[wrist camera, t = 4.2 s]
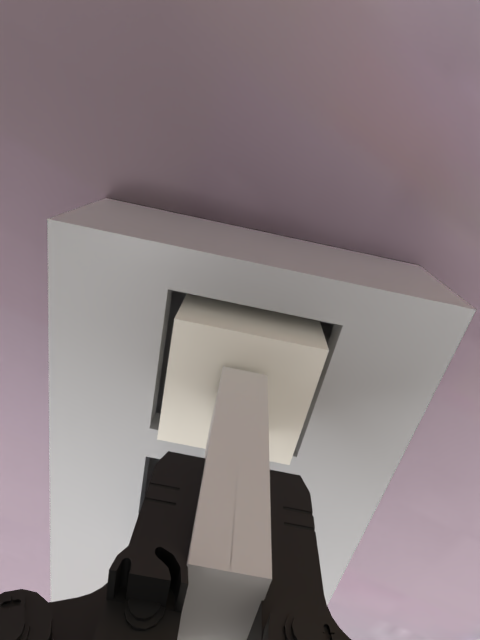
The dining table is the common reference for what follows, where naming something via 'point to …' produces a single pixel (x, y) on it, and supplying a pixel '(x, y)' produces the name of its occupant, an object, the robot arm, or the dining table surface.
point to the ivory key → (245, 354)
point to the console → (153, 353)
